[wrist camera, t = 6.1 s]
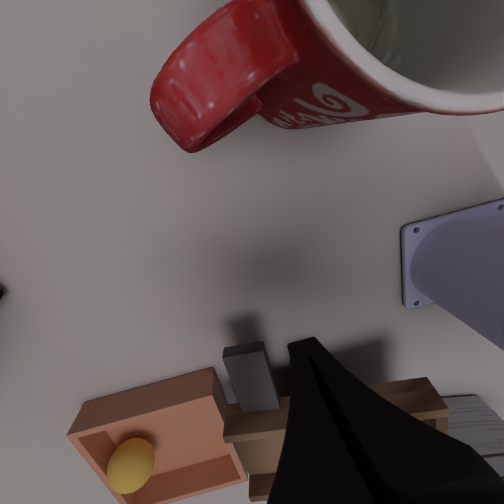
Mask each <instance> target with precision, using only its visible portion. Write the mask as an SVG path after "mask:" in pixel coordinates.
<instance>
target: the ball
mask: <svg viewBox="0 0 504 504" xmlns="http://www.w3.org/2000/svg"><path fill="white" fill-rule="evenodd" d="M154 464H155V453H154V449H153V447H152V445H151V444H150V443H149V442H148V441H147V440H145V439H143V438H131V439H128V440H126V441H125V442H123V443H122V444H120V445H119V446H118V447H117V448H116V450H115V451H114V452H113V454H112V456H111V458H110V460H109V463H108V466H107V480H108V483H109V485H110V487H111V488H112V489H113V490H114V491H115V492H117V493H120V494H130V493H133V492H135V491H137V490H138V489H140V488H141V487H142V486H143V485H144V484H145V483H146V482H147V480H148V479H149V477H150V476H151V474H152V471H153V468H154Z"/></svg>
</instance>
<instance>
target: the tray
mask: <svg viewBox="0 0 504 504" xmlns="http://www.w3.org/2000/svg"><path fill="white" fill-rule="evenodd" d="M227 405H228V403H227V400H226V398H225V395H224V393H223V390H222V388H221V385H220V383H219V380H218V378H217V375H216V373H215V370H214V368H213V367H211V368H208V369H204V370H200V371H197V372H193V373H189V374H186V375H182V376H179V377H175V378H171V379H168V380H164V381H160V382H157V383H153V384H150V385H146V386H142V387H139V388H135V389H131V390H128V391H124V392H120V393H117V394H113V395H110V396H106V397H102V398H99V399H95V400H91V401H88V402H84V404H83V406H82V408H81V410H80V411H79V413H78V415H77V417H76V419H75V420H74V422H73V424H72V426H71V428H70V430H69V431H68V433H67V435H66V436H67V437H68V438H69V440H70V441H71V442H72V443H73V445H74V446H75V447H76V448H77V450H78V451H79V452H80V454H81V455H82V456H83V457H84V459H85V460H86V461H87V462H88V464H89V465H90V466H91V468H92V469H93V470H94V471H95V473H96V474H97V475H98V476H99V478H100V479H101V480H102V482H103V483H104V484H105V485H106V487H107V488H108V489H109V490H110V492H111V493H112V494H113V495H114V497H115V498H116V499H117V501H118V502H119V503H120V504H167V503H171V502H175V501H178V500H182V499H185V498H189V497H192V496H196V495H199V494H203V493H206V492H210V491H214V490H217V489H221V488H224V487H228V486H231V485H235V484H238V483H242V482H245V481H248V471H247V468H246V465H245V463H244V460H243V458H242V456H241V453H240V451H239V448H238V446H237V444H236V442H234V443H226V444H225V442H224V439H223V429H224V421H225V414H226V406H227ZM131 438H143V439H145V440H147V441H148V442H149V443H150V444H151V445H152V447H153V449H154V453H155V464H154V468H153V471H152V474H151V476H150V477H149V479H148V480H147V482H146V483H145V484H144V485H143V486H142V487H141V488H140V489H138V490H137V491H135V492H133V493H130V494H120V493H117V492H115V491H114V490H113V489H112V488H111V487H110V485H109V483H108V480H107V466H108V463H109V460H110V458H111V456H112V454H113V452H114V451H115V450H116V448H117V447H118V446H119V445H120V444H122V443H123V442H125V441H126V440H128V439H131Z"/></svg>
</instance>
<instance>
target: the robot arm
mask: <svg viewBox="0 0 504 504" xmlns="http://www.w3.org/2000/svg"><path fill="white" fill-rule="evenodd" d="M498 206H499V207H498ZM414 228H416V230H415V231H414V232H413V230H414ZM402 269H403V304H404V306H405V307H406V308H407V309H413V308H416V307H420V306H424V305H427V304H431V303H434V302H435V303H437V304H438V305H440V306H441V307H442V308H444V309H445V310H447V311H448V312H450V313H451V314H452V315H454V316H455V317H457V318H458V319H459V320H461V321H462V322H464V323H465V324H467V325H468V326H469V327H471V328H472V329H474V330H475V331H477V332H478V333H479V334H481V335H482V336H484V337H485V338H487V339H488V340H489V341H491V342H492V343H494V344H495V345H497V346H498V347H499V348H501V349H502V350H504V199H501V200H498V201H494V202H490V203H487V204H483V205H479V206H476V207H472V208H468V209H464V210H461V211H457V212H453V213H450V214H446V215H442V216H439V217H435V218H431V219H427V220H424V221H420V222H416V223H413V224H409V225H406V226H405V227H404V228H403V229H402ZM415 301H416V302H415ZM414 302H415V303H414ZM287 347H288V351H289V355H290V364H291V389H290V403H289V412H288V419H287V426H286V431H285V437H284V442H283V447H282V451H281V455H280V459H279V463H278V467H277V471H276V474H275V478H274V481H273V484H272V487H271V491H270V494H269V497H268V500H267V504H504V480H503V479H502V478H501V477H500V476H499V474H498V473H497V472H496V471H495V470H494V469H493V467H492V466H491V465H490V464H489V463H488V462H487V461H486V460H485V459H484V458H483V457H482V456H481V455H480V454H479V453H478V452H476V451H475V450H474V449H473V448H472V447H471V446H470V445H468V444H466V443H463V442H461V441H459V440H457V439H455V438H453V437H451V436H449V435H447V434H445V433H443V432H441V431H439V430H437V429H435V428H433V427H431V426H429V425H428V424H426V423H424V422H422V421H420V420H419V419H417V418H415V417H414V416H412V415H410V414H409V413H407V412H405V411H404V410H402V409H400V408H399V407H397V406H395V405H394V404H392V403H391V402H389V401H388V400H386V399H385V398H383V397H382V396H380V395H379V394H378V393H376V392H375V391H373V390H372V389H371V388H369V387H368V386H367V385H365V384H364V383H363V382H362V381H360V380H359V379H358V378H357V377H355V376H354V375H353V374H352V373H351V372H349V371H348V370H347V369H346V368H345V367H344V366H343V365H342V364H341V363H339V362H338V361H337V360H336V359H335V358H334V357H333V356H332V355H331V354H330V353H329V352H328V351H327V350H326V349H325V348H324V347H323V345H322V344H321V343H320V342H319V341H318V340H317V338H315V337H311V338H307V339H304V340H300V341H296V342H293V343H289V344H288V346H287Z"/></svg>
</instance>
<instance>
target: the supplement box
mask: <svg viewBox="0 0 504 504" xmlns="http://www.w3.org/2000/svg"><path fill="white" fill-rule="evenodd" d="M442 399H443V401H444V402H445V404H446V405H447V407H448V408H449V418H448V433H447V435H449V436H451V437H453V438H455V439H457V440H459V441H461V442H463V443H466V444H468V445H470V446H471V447H472V448H473V449H474V450H475V451H476V452H478V453H479V454H480V455H481V456H482V457H483V458H484V459H485V460H486V461H487V462H488V463H489V464H490V465H491V466H492V467H493V469H494V470H495V471H496V472H497V473H498V474H499V476H500V477H501V478H502V479H503V480H504V421H503V420H502V419H501V418H500V417H499V416H498V415H497V414H496V413H495V412H494V411H493V410H492V409H491V408H490V407H489V406H488V405H487V404H486V403H485V402H484V401H483V400H482V399H481V398H480V397H479V396H463V397H449V398H442Z"/></svg>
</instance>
